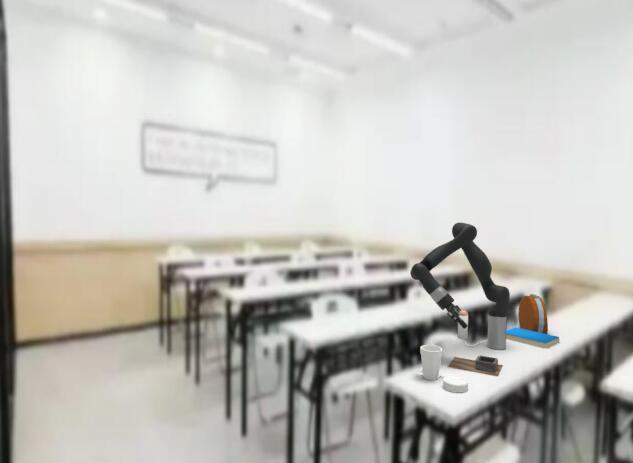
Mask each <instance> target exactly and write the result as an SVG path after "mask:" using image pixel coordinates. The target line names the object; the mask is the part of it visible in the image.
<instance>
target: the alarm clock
mask: <svg viewBox="0 0 633 463" xmlns="http://www.w3.org/2000/svg"><path fill="white" fill-rule="evenodd" d="M517 315H518V323H519V328H521V329H525V330H530V331H535V332H539V333H544V334H549V333H548V331H549V326H548V324H549V323H548V322H549V321H548V314H547V309H546V305H545V303H544V300H543V299H542V298H541V296H538V295H537V294H534V293H533V294H531V293H530V294H529V295H523V296H522V297H521V299H520V301H519V305H518V314H517Z"/></svg>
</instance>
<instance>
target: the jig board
mask: <svg viewBox="0 0 633 463" xmlns="http://www.w3.org/2000/svg"><path fill="white" fill-rule="evenodd" d="M503 366H504V365H503V364H499V358H497V357H492V356H485V355H481V354H479V355H477V357H476V359H475V360H474V359H470V358H469V359H468V358H464V357H463V358H462V357H458V356H454V357H453V359H451V361H450V362H449V364H448V365H447V368H450V369H455V370H460V371H467V372H470V373H471V372H473V373H475V374H476V373H477V374H483V375H486V376H487V375H488V376H492V377H499V376H500V373H501V371H502V368H503Z"/></svg>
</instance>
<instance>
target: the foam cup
mask: <svg viewBox="0 0 633 463" xmlns="http://www.w3.org/2000/svg"><path fill="white" fill-rule="evenodd" d="M419 348H420V349H419V350H420V351H419V352H420V355H421V357H420V358H421V365H422V366H421V367H422V375H423V379H426V380H429V381H435V380H439V374H440V370H441V364H442V363H441V361H442V357H443V348H442V347H441V346H439V345H434V344H425V345H424V344H423V345H421V346H420V347H419Z"/></svg>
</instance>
